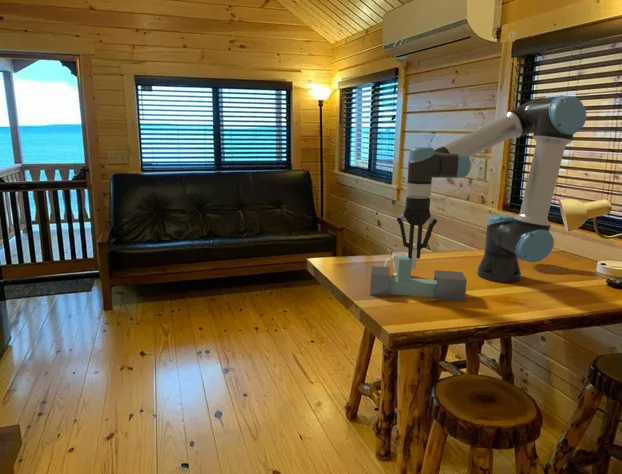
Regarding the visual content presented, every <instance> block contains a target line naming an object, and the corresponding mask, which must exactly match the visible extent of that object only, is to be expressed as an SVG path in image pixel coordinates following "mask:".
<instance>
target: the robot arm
mask: <svg viewBox="0 0 622 474" xmlns="http://www.w3.org/2000/svg"><path fill="white" fill-rule="evenodd" d="M586 120H587V110H586V107H585V105H584V104H583V102H582V101H581V100H580V99H579V98H578V97H576V96H571V95H558V96H549V97H538V98H534V99H532V100H529V101H528V102H525V103H523V104H520V105H519V106H517V107H515V108H513V109H511V110H510V111H507V112H506V113H504V115H503V117H501V118H500V119H497V120H495V121H493V122H491V123H487V124H486V125H485V126H482V127H480V128H477V129H476V130H474V131H472V132H469V133H468V134H465V135H463V136H461V137H459V138H456V139H455V140H453V141H451V142H449V143H447V144H445V145H443V146H440V147H437V148H436V149H434V148H433V147H429V146H427V147H426V146H413V147H411V148H410V149H409V154H408V160H407V163H408V164H407V165H408V166H407V179H406V181H407V182H406V195H407V196H406V198H405V210H404V211H403V214H401V215H399V216H397V217H396V221H397V223H398V224H399V226H400V227H399V229H400V233H401V238H402V239H401V240H402V244H403V247H404V248H407V249H408V250H407V251H408V252H407V253H408V257H409V258H412V266H411V270H417V269H416V268H417V260H419V259H420V258H421V253H422V252H421V250H422V249H425V248H426V249H427V247H428V244H429V240H430V237H431V235H432V232H433V229H434V227H435V225H436V224H437V223H438V220H437V218H434V217H433V216H432V215H431V212H430V206H431V198H430V197H431V195H432V194H431V193H432V183H433V178H434V179H437V178H439V179H441V178H443V179H445V178H446V179H449V178H451V179H453V178H454V179H461V178H463V179H464V178H466V177H467V176H468V175H469V173H470V171H471V159H470V158H471V157H474V156H475V155H477V154H480V153H482V152H484V151H486V150H488V149H490V148H493V147H495V146H497V145H499V144H501V143H503V142H505V141H507V140H509V139H512V138H514V139H518V138H520V137H523V136H525V135H530V134H533V135H532V138H533V139H534V141H535V142H536V143H535V147H534V153H533V156H532V160H531V165H530V169H529V174H528V176H527V177H528V178H527V181H526V185H525V189H524V193H523V198H522V203H521V206H520V210H519V211H520V212H519V213H518V214H517V215H491V216H490V217H488V219H487V224H486V234H485V246H484V252H483V253H484V254H483V257H482V259H481V261H480V263H479V265H478V267H477V275H478V276H479V277H480V278H483V279H485V280H489V281H491V282H498V283H515V282H516V283H517V282H519V281H520V280H521V278H522V277H521V276H522V272H521V266H520V263H519V260H521V261H525V262H528V263H538V262H541V261H543V259H546V258H547V257H548V256H549V255H550V253H551V252H552V251H553V249H554V245H555V240H554V239H555V238H554V237H553V235H552V233H550V229H551V222H550V221H549V220H548V217H549V212H550V209H551V205H552V200H553V196H554V193H555V189H556V184H557V180H558V176H559V172H560V169H561V165H562V161H563V157H564V151H565V148H566V146H567V145H569V144H571V143H572V142H573V139H574V134H577V133H579V131H580V130H581V129H582V128H583V127H584V126H585V123H586ZM405 220H406V222H407V223H408V224H409V234H408V241H407V237H406V231H405V226H404V222H405ZM427 222H428V223H429V224H428V227H427V228H426V229H427V230H426V232H425V235H424V238H423V242H422V237H423V226H424V225H425V224H426V223H427ZM415 226H417V235H416V236H417V237H416V247H414V238H415V237H414V234H415Z"/></svg>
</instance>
